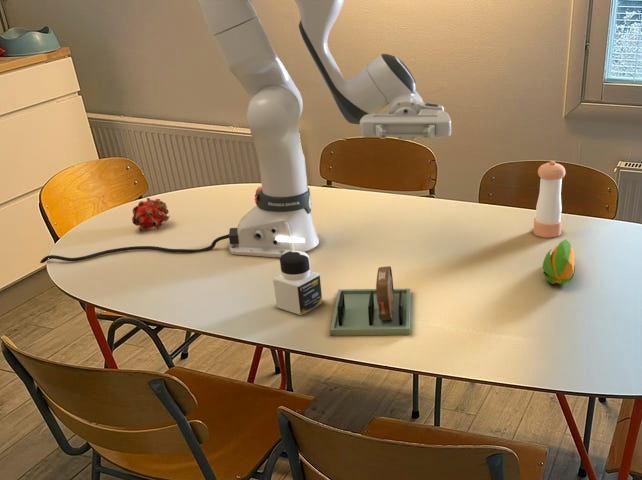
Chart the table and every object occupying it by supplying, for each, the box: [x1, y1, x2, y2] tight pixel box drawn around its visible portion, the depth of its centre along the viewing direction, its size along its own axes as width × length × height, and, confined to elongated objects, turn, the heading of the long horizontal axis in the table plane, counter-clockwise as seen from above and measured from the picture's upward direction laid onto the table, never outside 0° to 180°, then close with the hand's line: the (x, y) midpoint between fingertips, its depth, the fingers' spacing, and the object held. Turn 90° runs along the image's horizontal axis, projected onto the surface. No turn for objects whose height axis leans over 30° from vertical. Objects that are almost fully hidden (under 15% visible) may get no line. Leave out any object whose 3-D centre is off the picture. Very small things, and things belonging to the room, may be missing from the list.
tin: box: [375, 265, 395, 320], centre depth 156 cm, size 15×3×8 cm, turn 2°
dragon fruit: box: [131, 197, 171, 232], centre depth 198 cm, size 8×8×12 cm
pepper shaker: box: [533, 160, 566, 239], centre depth 193 cm, size 7×7×19 cm
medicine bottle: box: [272, 251, 323, 316], centre depth 158 cm, size 7×7×12 cm
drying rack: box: [329, 288, 412, 337], centre depth 156 cm, size 16×19×5 cm
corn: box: [542, 239, 576, 286], centre depth 173 cm, size 7×8×20 cm
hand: (405, 134), depth 159 cm, fingers open, 8 cm apart
